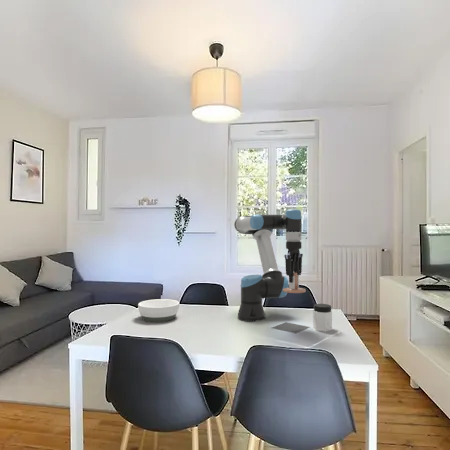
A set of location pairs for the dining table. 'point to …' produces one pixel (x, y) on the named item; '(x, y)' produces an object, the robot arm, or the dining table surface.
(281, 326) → the mat
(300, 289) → the orange post stand
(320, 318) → the jar
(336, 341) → the dining table surface
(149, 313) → the bowl
